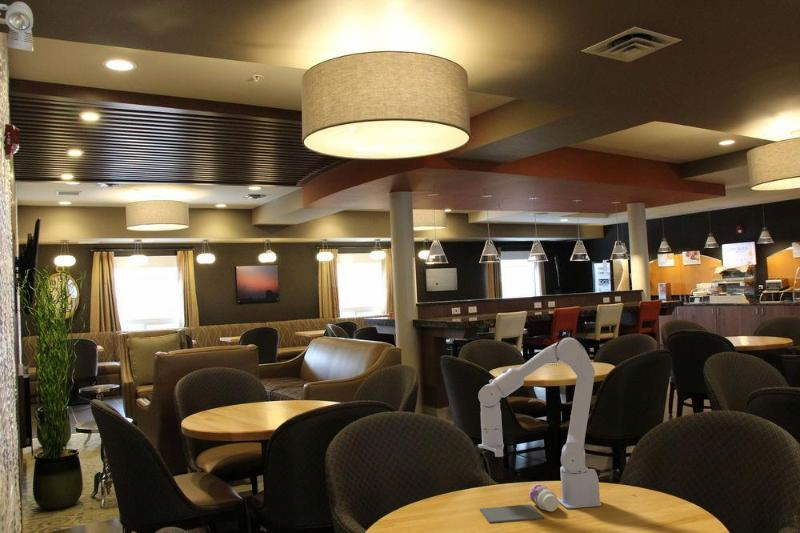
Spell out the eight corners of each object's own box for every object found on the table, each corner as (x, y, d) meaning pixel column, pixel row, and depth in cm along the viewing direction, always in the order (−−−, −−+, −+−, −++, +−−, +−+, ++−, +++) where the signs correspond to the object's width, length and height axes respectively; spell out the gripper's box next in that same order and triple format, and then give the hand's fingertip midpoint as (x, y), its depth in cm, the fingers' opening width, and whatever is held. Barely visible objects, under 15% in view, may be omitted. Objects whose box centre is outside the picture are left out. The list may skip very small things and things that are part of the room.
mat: (530, 505, 179) (530, 504, 179) (544, 518, 168) (544, 516, 168) (479, 510, 177) (479, 508, 177) (489, 523, 166) (489, 521, 166)
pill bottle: (542, 479, 181) (555, 488, 172) (550, 497, 181) (565, 507, 172) (525, 489, 180) (538, 499, 171) (534, 507, 180) (547, 518, 171)
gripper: (471, 424, 192) (474, 472, 191) (483, 433, 178) (486, 485, 177) (495, 422, 193) (498, 470, 192) (509, 432, 179) (512, 483, 178)
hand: (494, 477), depth 185 cm, fingers closed
